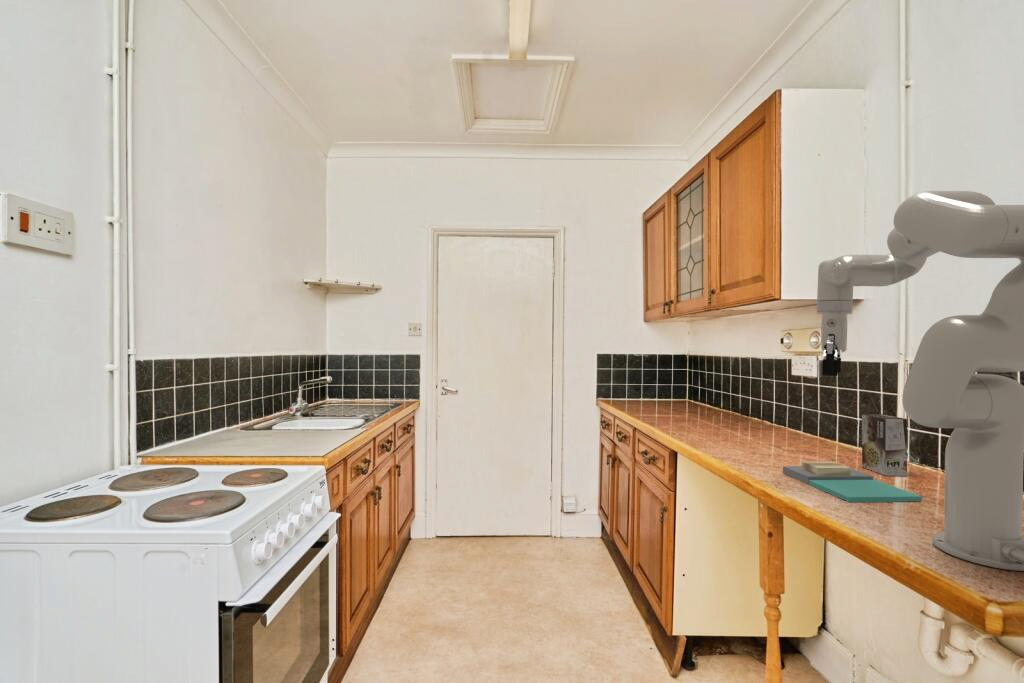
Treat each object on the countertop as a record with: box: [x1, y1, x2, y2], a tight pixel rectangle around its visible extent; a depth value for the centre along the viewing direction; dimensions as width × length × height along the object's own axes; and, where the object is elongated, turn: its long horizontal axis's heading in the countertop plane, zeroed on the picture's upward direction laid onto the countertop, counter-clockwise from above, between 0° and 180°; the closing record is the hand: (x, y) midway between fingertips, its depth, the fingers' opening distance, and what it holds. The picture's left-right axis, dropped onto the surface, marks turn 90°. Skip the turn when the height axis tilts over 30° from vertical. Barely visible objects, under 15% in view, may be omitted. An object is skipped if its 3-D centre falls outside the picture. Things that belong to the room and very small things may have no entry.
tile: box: [801, 461, 852, 475], centre depth 123 cm, size 6×9×2 cm, turn 93°
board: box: [782, 465, 874, 485], centre depth 124 cm, size 10×18×2 cm, turn 93°
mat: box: [808, 479, 923, 503], centre depth 112 cm, size 13×18×1 cm
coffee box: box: [861, 413, 909, 477], centre depth 131 cm, size 9×6×16 cm
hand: (831, 373), depth 117 cm, fingers open, 9 cm apart
